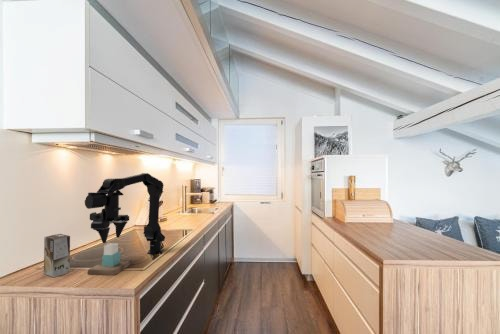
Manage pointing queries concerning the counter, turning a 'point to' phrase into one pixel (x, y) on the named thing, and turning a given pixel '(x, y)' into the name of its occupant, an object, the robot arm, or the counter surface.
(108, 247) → the cream block
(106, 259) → the teal block
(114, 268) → the walnut base
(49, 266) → the coffee box
